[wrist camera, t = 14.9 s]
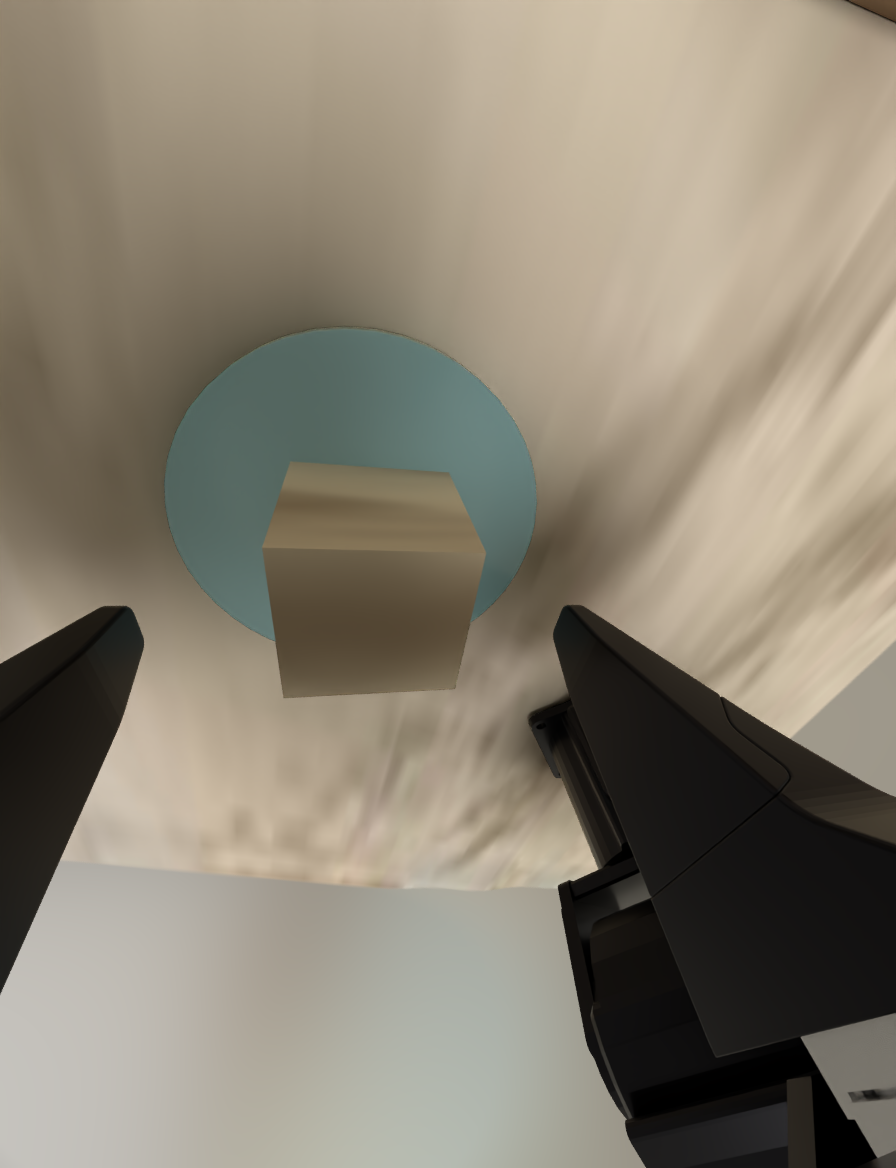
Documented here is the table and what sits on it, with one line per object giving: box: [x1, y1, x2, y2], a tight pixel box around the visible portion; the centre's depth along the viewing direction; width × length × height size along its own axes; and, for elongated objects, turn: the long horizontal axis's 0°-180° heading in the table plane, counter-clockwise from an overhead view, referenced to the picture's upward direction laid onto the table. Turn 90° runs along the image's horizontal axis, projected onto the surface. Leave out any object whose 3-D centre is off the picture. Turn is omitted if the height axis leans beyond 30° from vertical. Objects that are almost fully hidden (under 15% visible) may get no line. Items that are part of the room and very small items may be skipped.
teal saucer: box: [164, 326, 537, 641], centre depth 12 cm, size 10×10×1 cm
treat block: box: [262, 461, 486, 698], centre depth 10 cm, size 4×4×4 cm
